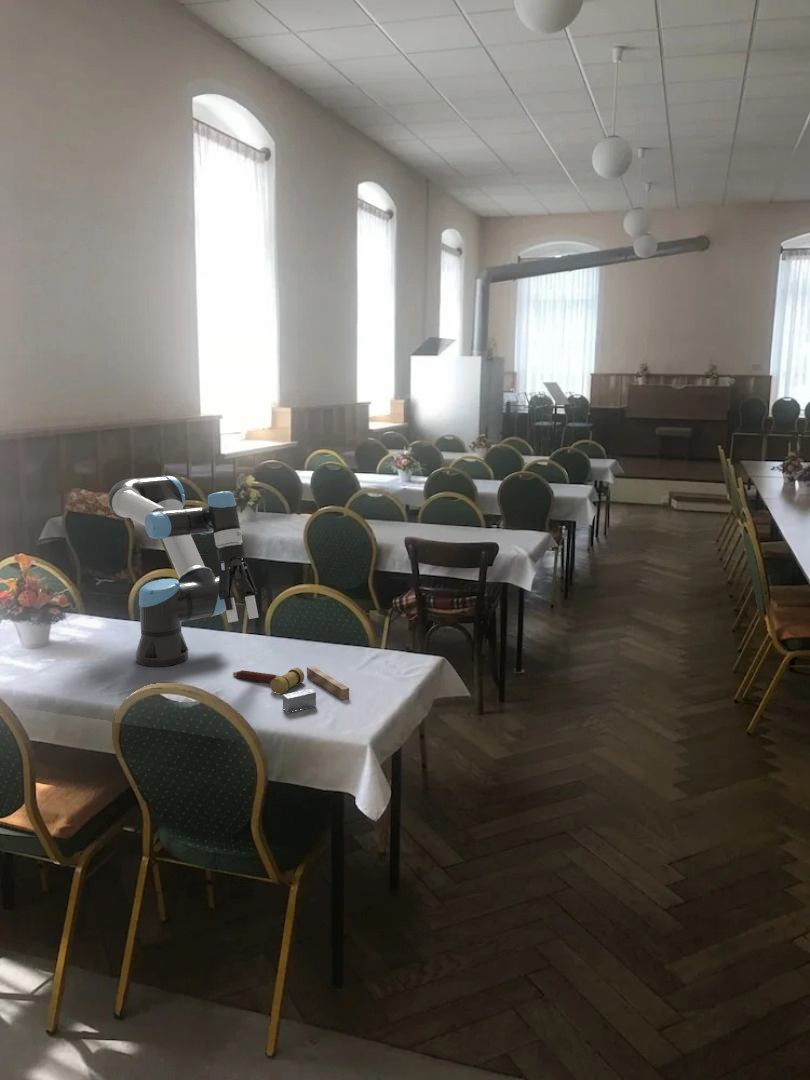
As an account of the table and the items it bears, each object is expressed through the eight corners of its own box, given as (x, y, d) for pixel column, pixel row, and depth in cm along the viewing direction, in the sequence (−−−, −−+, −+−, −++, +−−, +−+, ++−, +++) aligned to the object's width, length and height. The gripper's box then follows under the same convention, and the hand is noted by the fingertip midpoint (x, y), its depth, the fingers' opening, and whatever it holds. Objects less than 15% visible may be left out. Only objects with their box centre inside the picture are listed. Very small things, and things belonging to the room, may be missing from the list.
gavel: (221, 671, 238) (243, 660, 246) (222, 687, 238) (244, 675, 247) (283, 679, 228) (304, 668, 237) (284, 696, 229) (305, 684, 238)
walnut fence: (306, 677, 242) (306, 667, 241) (313, 675, 243) (313, 665, 243) (342, 700, 226) (342, 689, 225) (349, 698, 227) (349, 687, 226)
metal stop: (283, 709, 219) (282, 694, 219) (310, 702, 224) (310, 688, 223) (288, 713, 217) (288, 698, 216) (316, 706, 221) (315, 692, 221)
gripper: (222, 542, 228) (236, 620, 227) (259, 543, 252) (273, 614, 251) (196, 548, 230) (211, 626, 228) (236, 549, 254) (250, 619, 253)
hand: (243, 620), depth 240 cm, fingers open, 13 cm apart
